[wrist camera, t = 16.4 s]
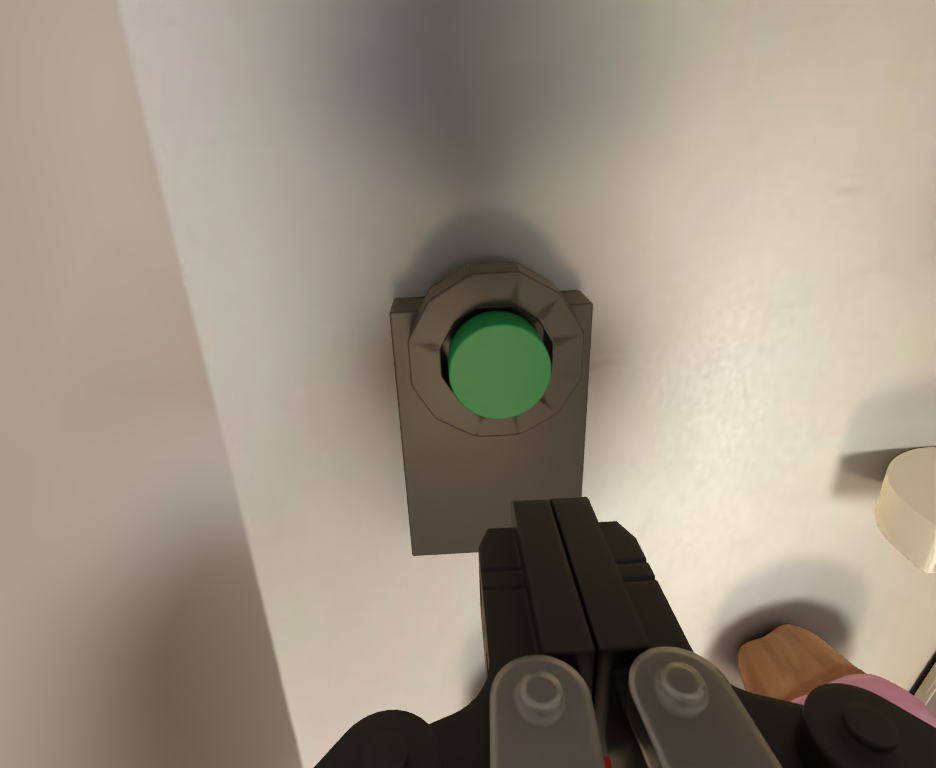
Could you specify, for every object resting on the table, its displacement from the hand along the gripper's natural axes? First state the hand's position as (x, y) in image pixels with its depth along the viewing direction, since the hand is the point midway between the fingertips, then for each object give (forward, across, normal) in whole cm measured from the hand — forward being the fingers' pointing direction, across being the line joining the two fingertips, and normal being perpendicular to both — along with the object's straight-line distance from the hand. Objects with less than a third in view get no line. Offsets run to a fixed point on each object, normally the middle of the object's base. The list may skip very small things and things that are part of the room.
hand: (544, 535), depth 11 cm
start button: (+10, 0, 0) cm, 10 cm away
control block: (+14, 0, +4) cm, 15 cm away
